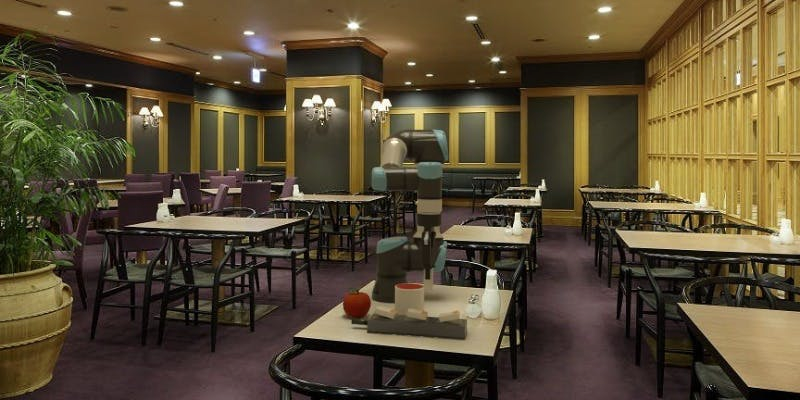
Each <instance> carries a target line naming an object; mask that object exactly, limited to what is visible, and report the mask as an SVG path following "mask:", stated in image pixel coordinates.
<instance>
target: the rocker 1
mask: <svg viewBox="0 0 800 400" xmlns="http://www.w3.org/2000/svg"><path fill="white" fill-rule="evenodd" d="M374 313H376V314H379V315H382V316H385V317H388V318H392V319H394V317H395V316H396V313H397V311H395V309H391V308H388V307H385V306H382V305H378V306H377V307H376V308H375V312H374Z"/></svg>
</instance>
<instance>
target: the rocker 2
mask: <svg viewBox="0 0 800 400" xmlns="http://www.w3.org/2000/svg"><path fill="white" fill-rule="evenodd" d="M407 316H408V317H413V318H417V319H422V320H426V319H427V317H429V312H428V311H425V310H424V311H420V310H415V309H411V308H409V310H408V311H407Z"/></svg>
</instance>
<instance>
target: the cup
mask: <svg viewBox="0 0 800 400" xmlns="http://www.w3.org/2000/svg"><path fill="white" fill-rule="evenodd" d="M409 308H411V309H415V310H420V311H425V290H423V284H419V283H411V282H410V283H409V282H408V283H404V284H398V285H396V286H395V302H394V310H395V311H397V313H396V315H407V311H408V310H409Z"/></svg>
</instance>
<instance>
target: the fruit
mask: <svg viewBox="0 0 800 400" xmlns="http://www.w3.org/2000/svg"><path fill="white" fill-rule="evenodd" d="M348 290H354V291H353V292H348V293H347V294H346V295H345V296H344V297H343V301H342V306H343V307H342V309H343V311H344V313H345V314H346V315H347V316H348V317H350V318H352V319H359V318H363V317H366V316H367V314H368V313H369V311H370V309H371V305H372V301H371V297H370V295H369V294H368V293H366V292H362V291H360V290H359V289H356V288H355V287H349V288H347V290H346V291H348Z"/></svg>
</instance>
